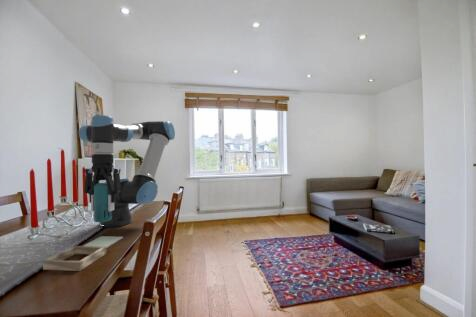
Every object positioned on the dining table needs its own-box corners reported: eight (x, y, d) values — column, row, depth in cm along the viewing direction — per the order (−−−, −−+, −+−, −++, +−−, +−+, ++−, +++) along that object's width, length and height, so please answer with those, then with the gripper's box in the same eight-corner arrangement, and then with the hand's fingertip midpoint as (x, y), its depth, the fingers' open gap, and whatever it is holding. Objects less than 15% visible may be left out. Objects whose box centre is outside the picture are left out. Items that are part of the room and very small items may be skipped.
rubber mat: (100, 237, 95) (100, 236, 95) (123, 237, 94) (123, 236, 94) (81, 247, 84) (81, 246, 84) (106, 248, 83) (106, 247, 83)
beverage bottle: (103, 226, 85) (103, 175, 85) (89, 225, 86) (89, 175, 86) (116, 222, 91) (115, 174, 91) (102, 221, 93) (102, 174, 93)
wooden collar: (74, 252, 79) (74, 245, 79) (106, 253, 79) (106, 246, 79) (43, 269, 67) (43, 261, 67) (80, 270, 67) (80, 262, 67)
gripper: (72, 153, 86) (72, 212, 86) (120, 153, 85) (120, 213, 85) (86, 154, 93) (86, 208, 93) (130, 153, 92) (131, 208, 92)
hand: (102, 210), depth 89 cm, fingers closed on beverage bottle, 6 cm apart
